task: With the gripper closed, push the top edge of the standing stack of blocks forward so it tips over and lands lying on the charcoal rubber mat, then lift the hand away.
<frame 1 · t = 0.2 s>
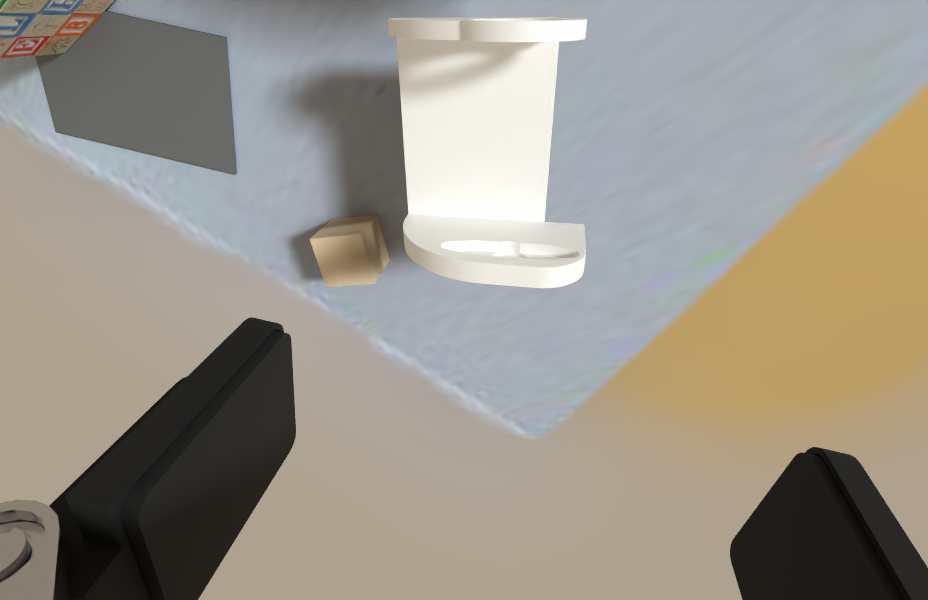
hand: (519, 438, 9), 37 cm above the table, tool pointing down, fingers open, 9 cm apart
beech block: (361, 240, 50), on the table
white plastic bracket: (509, 112, 41), on the table
rubber mat: (135, 88, 46), on the table
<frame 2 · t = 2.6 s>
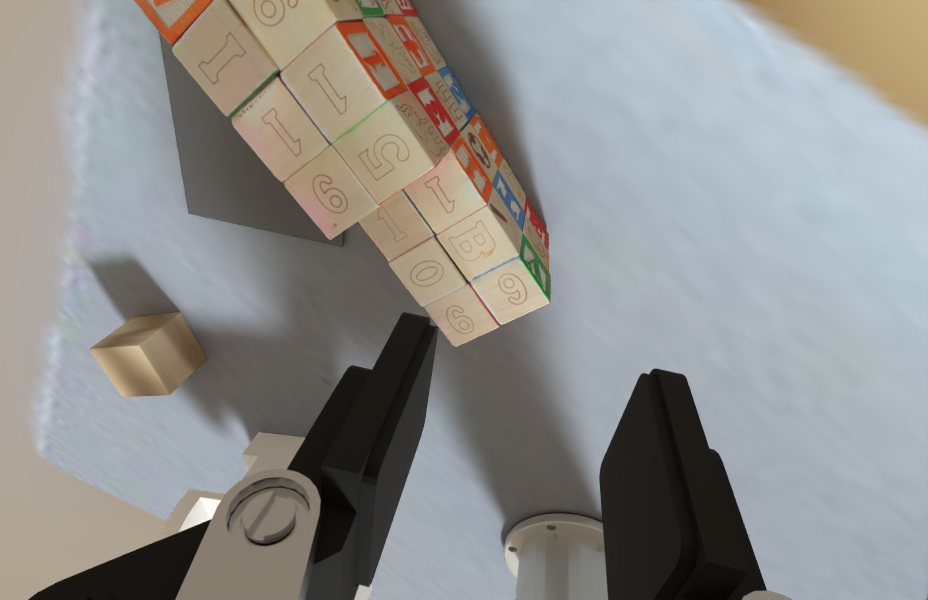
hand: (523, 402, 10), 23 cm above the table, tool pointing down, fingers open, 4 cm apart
beech block: (171, 337, 44), on the table
white plastic bracket: (331, 464, 50), on the table
stack of blocks: (423, 116, 30), on the table, touching rubber mat
rubber mat: (256, 92, 32), on the table
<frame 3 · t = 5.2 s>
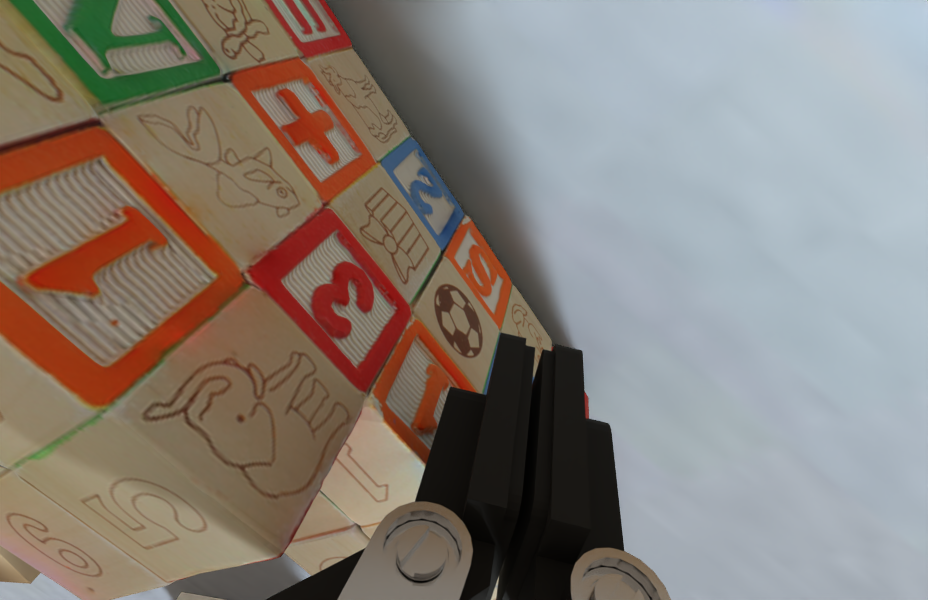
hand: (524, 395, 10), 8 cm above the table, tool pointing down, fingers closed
beech block: (49, 481, 32), on the table
stack of blocks: (377, 212, 18), on the table, touching gripper, rubber mat
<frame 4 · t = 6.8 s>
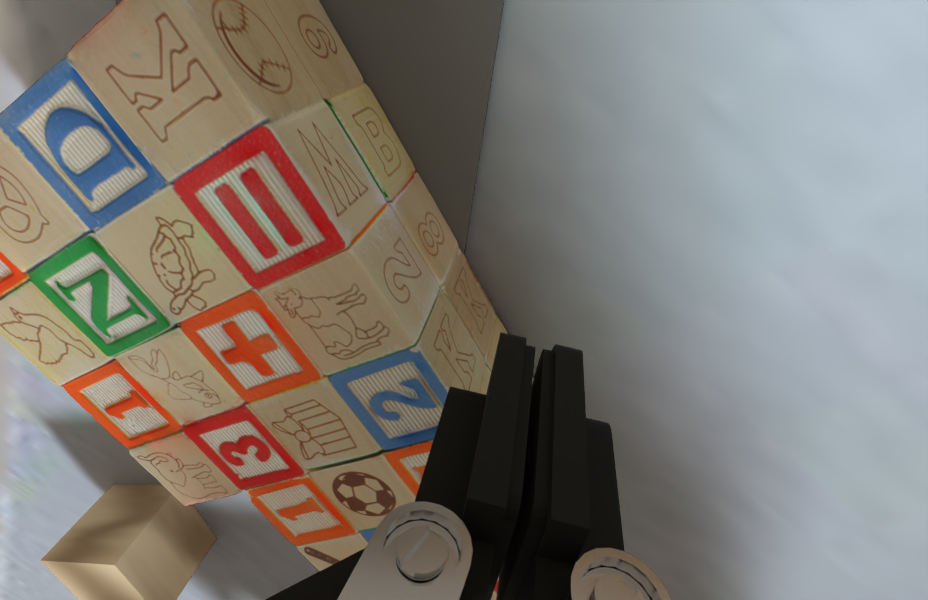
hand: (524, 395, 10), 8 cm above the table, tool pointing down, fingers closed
beech block: (166, 510, 31), on the table
stack of blocks: (472, 323, 15), point 3 cm above the table, touching rubber mat
rubber mat: (307, 205, 18), on the table
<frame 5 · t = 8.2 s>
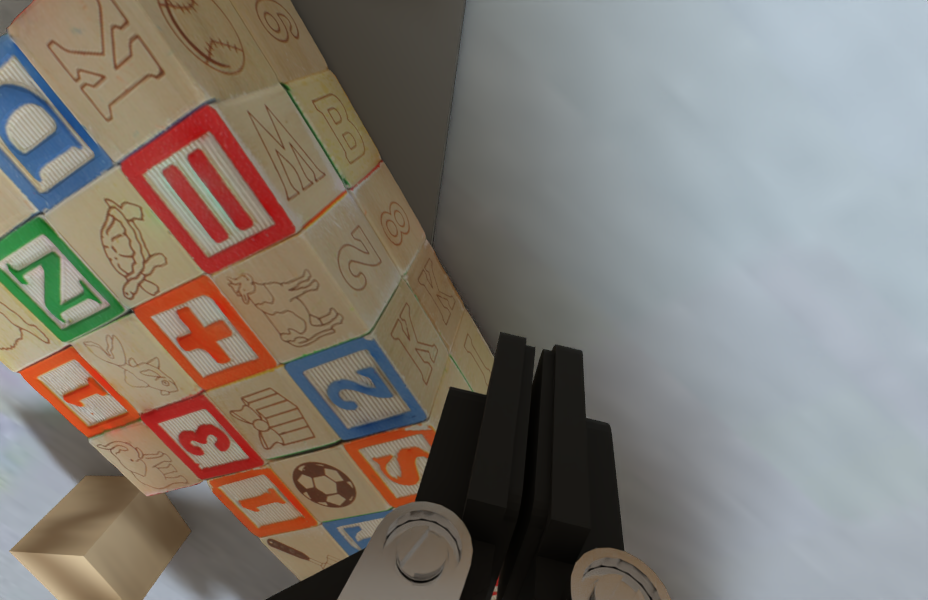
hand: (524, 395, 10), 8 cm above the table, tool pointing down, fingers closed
beech block: (140, 502, 31), on the table
stack of blocks: (435, 314, 15), point 3 cm above the table, touching rubber mat
rubber mat: (275, 194, 18), on the table
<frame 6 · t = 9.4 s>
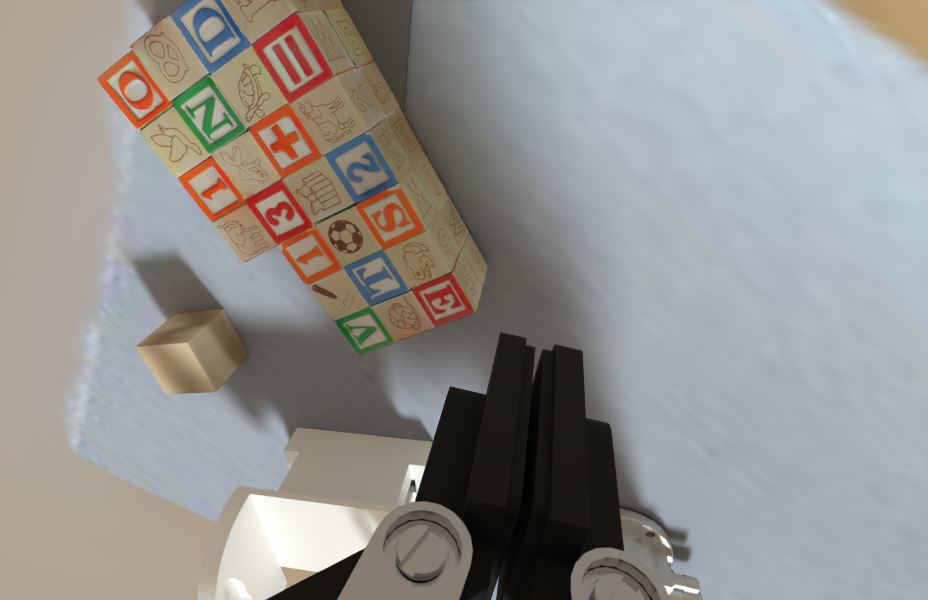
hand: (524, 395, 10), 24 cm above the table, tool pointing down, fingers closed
beech block: (213, 333, 44), on the table
white plastic bracket: (370, 459, 50), on the table
stack of blocks: (403, 140, 28), point 3 cm above the table, touching rubber mat
rubber mat: (312, 87, 31), on the table
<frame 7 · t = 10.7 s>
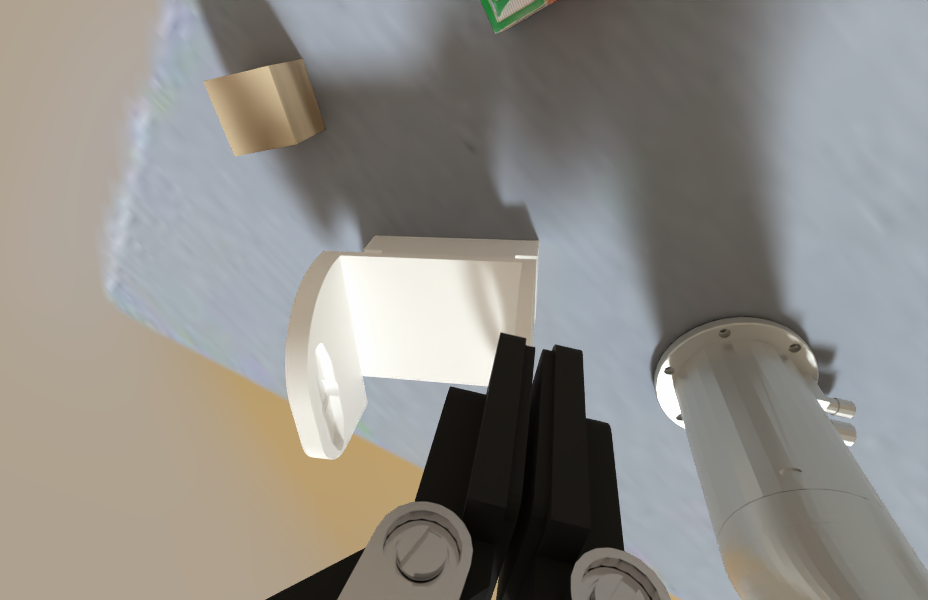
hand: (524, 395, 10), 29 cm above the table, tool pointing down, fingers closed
beech block: (286, 101, 38), on the table
white plastic bracket: (457, 276, 43), on the table
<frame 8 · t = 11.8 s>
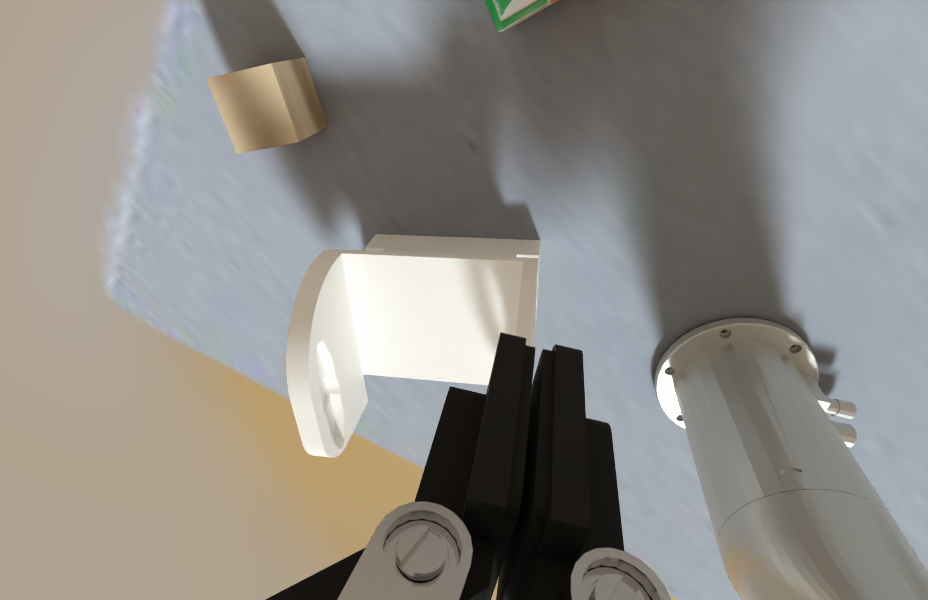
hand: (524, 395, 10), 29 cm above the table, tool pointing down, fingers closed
beech block: (288, 99, 38), on the table
white plastic bracket: (458, 275, 43), on the table
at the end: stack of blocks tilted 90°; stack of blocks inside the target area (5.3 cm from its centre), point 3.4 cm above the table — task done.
